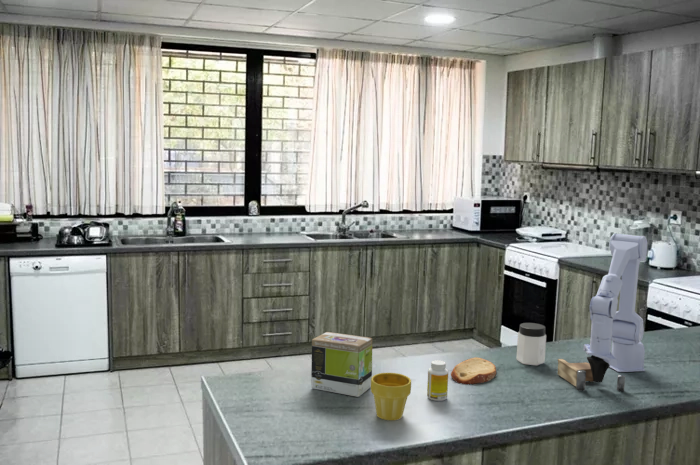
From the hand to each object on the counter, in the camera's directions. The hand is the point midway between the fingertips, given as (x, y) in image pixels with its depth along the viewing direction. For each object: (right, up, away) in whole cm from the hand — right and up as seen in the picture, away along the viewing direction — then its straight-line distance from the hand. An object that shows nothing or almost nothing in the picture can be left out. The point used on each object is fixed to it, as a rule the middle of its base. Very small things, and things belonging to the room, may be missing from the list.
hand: (597, 381), depth 193 cm
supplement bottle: (-49, -2, -11) cm, 50 cm away
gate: (-7, -1, +5) cm, 9 cm away
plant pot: (-63, -4, -24) cm, 67 cm away
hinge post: (-6, -2, -2) cm, 6 cm away
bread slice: (-35, 0, +10) cm, 36 cm away
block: (-2, -1, +8) cm, 8 cm away
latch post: (+6, -2, -2) cm, 7 cm away
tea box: (-75, -1, -5) cm, 76 cm away
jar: (-14, +1, +23) cm, 27 cm away
